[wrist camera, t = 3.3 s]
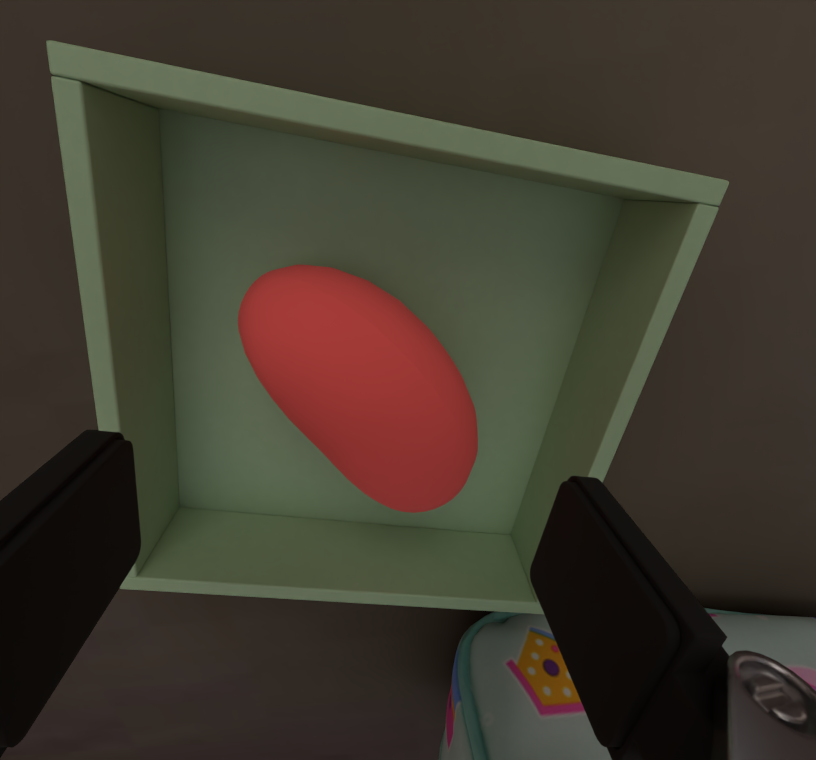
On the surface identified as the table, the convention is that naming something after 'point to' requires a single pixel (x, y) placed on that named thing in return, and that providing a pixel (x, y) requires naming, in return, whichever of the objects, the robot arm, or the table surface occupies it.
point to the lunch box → (567, 684)
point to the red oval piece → (362, 383)
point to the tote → (387, 269)
